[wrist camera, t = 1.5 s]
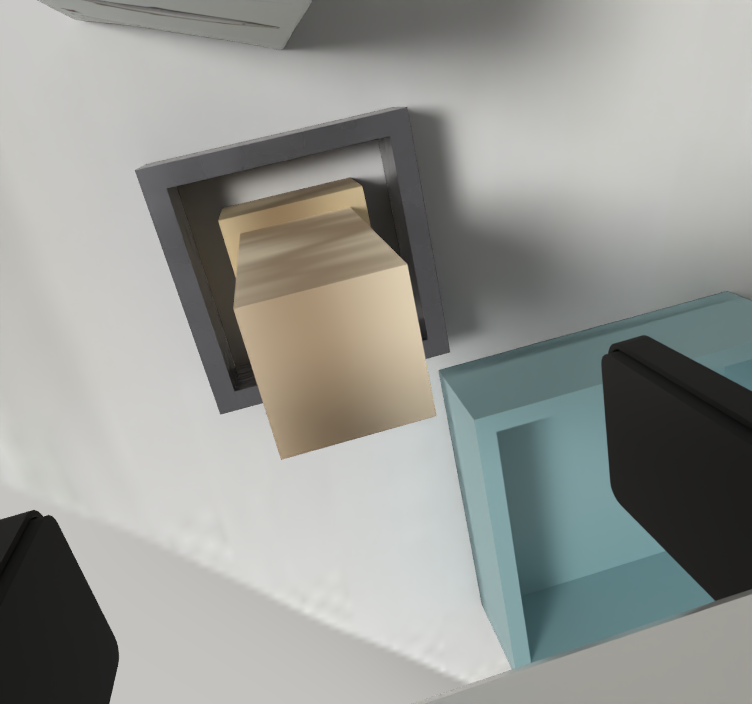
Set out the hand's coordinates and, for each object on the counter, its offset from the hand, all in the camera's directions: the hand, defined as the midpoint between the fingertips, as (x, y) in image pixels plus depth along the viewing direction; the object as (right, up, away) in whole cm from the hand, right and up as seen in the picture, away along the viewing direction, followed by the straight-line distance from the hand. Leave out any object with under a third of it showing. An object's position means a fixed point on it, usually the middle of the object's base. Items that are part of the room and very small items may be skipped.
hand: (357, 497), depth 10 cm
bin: (+12, -3, +22) cm, 25 cm away
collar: (-3, +6, +15) cm, 17 cm away
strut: (-3, +6, +15) cm, 17 cm away
